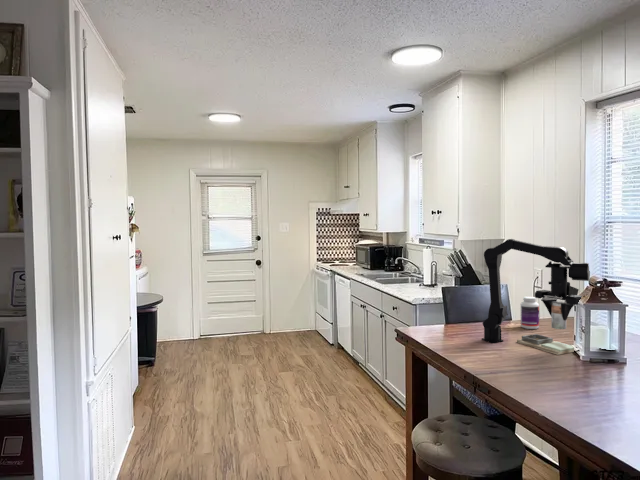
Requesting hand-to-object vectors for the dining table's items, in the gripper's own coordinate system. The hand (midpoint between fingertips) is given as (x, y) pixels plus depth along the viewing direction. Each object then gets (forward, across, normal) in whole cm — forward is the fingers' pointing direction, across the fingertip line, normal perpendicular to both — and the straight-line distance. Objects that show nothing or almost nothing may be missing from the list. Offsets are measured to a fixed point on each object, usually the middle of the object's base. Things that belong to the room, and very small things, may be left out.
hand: (558, 318), depth 182 cm
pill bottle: (+13, +32, -19) cm, 39 cm away
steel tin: (+4, 0, 0) cm, 4 cm away
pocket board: (+12, +5, 0) cm, 13 cm away
